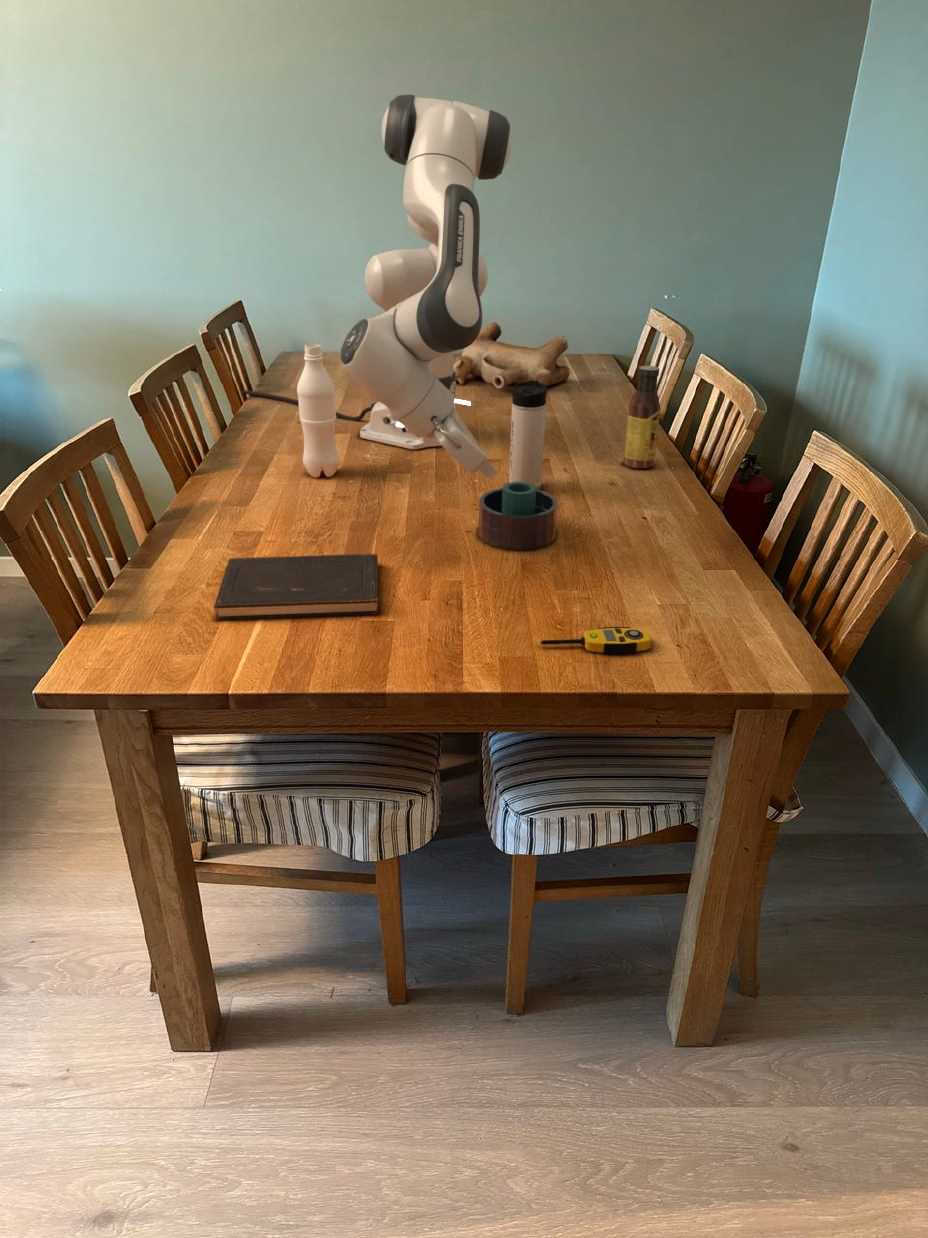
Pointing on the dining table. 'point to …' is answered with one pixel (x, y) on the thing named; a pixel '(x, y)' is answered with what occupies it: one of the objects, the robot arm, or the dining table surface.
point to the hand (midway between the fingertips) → (486, 464)
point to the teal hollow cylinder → (518, 498)
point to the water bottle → (317, 415)
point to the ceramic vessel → (510, 361)
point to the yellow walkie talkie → (611, 640)
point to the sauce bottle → (643, 420)
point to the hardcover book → (298, 587)
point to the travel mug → (527, 433)
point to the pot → (517, 522)
